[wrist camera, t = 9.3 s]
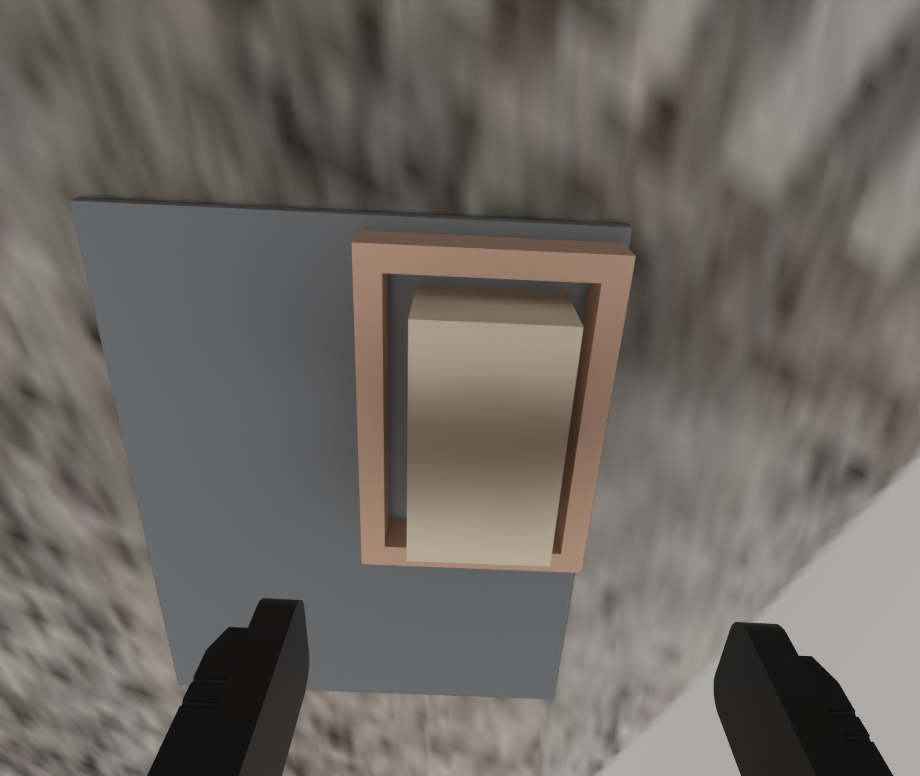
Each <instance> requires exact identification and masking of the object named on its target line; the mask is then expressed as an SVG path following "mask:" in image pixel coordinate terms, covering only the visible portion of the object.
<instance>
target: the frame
mask: <svg viewBox="0 0 920 776" xmlns="http://www.w3.org/2000/svg"><path fill="white" fill-rule="evenodd" d="M635 258H636V256H635V255H634V254H633V253H632V251H631V250H630V249H629V248H628V247H627V246H626V245H625V244H624V243H615V242H594V241H573V240H552V239H531V238H510V237H489V236H468V235H447V234H426V233H405V232H384V231H363V230H360V231H359V233H358V234H357V236H356V237H355V238H354V240H353V241H352V271H353V303H354V335H355V367H356V399H357V430H358V462H359V494H360V526H361V558H362V564H371V565H396V566H421V567H446V568H470V569H495V570H520V571H544V572H569V573H581V571H582V566H583V560H584V554H585V548H586V542H587V536H588V531H589V525H590V519H591V513H592V507H593V502H594V496H595V490H596V484H597V478H598V473H599V467H600V461H601V455H602V449H603V444H604V438H605V432H606V426H607V420H608V415H609V409H610V403H611V397H612V391H613V386H614V380H615V374H616V368H617V362H618V357H619V351H620V345H621V339H622V333H623V328H624V322H625V316H626V310H627V304H628V298H629V293H630V287H631V281H632V275H633V269H634V264H635ZM388 274H409V275H431V276H452V277H473V278H495V279H516V280H537V281H559V282H580V283H590V284H589V291H588V298H587V305H586V312H585V319H584V326H583V327H584V328H583V335H582V342H581V349H580V356H579V363H578V370H577V378H576V385H575V392H574V399H573V406H572V413H571V421H570V428H569V435H568V442H567V449H566V456H565V464H564V471H563V478H562V485H561V492H560V499H559V506H558V514H557V521H556V528H555V535H554V542H553V549H552V557H551V564H550V567H544V566H518V565H492V564H467V563H441V562H415V561H407V520H401V519H390V512H389V328H388Z"/></svg>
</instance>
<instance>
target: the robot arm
mask: <svg viewBox="0 0 920 776" xmlns="http://www.w3.org/2000/svg"><path fill="white" fill-rule="evenodd" d="M308 673H309V647H308V637H307V627H306V618H305V608H304V603H303V601H302V600H294V599H273V598H262V599H261V600H260V601H259V603H258V604H257V607H256V609H255V611H254V614H253V616H252V619H251V621H250V624H249V626H248V628H244V627H228V628H227V629H226V630H225V631H224V632H223V633H222V634H221V635H220V636H219V637H218V638H217V639H216V640H215V641H214V642H213V643H212V644H211V645H210V646H209V647H208V648H207V649H206V651H205V653H204V656H203V658H202V660H201V662H200V664H199V666H198V668H197V670H196V673H195V675H194V677H193V682H192V683H190V685H189V688H188V690H187V692H186V694H185V696H184V698H183V703H182V706H180V707H179V709H178V711H177V713H176V715H175V717H174V720H173V722H172V724H171V726H170V728H169V730H168V732H167V734H166V737H165V739H164V741H163V743H162V745H161V747H160V749H159V752H158V754H157V756H156V758H155V760H154V762H153V764H152V767H151V769H150V771H149V773H148V775H147V776H282V773H283V770H284V766H285V762H286V759H287V755H288V752H289V748H290V744H291V741H292V737H293V734H294V730H295V726H296V723H297V719H298V716H299V712H300V708H301V705H302V701H303V697H304V694H305V690H306V686H307V680H308ZM714 699H715V704H716V709H717V712H718V715H719V718H720V720H721V723H722V726H723V728H724V731H725V734H726V736H727V739H728V742H729V745H730V747H731V750H732V753H733V755H734V758H735V761H736V763H737V766H738V768H739V771H740V774H741V776H893V775H892V773H891V771H890V769H889V768H888V766H887V765H886V763H885V761H884V759H883V758H882V756H881V754H880V752H879V751H878V749H877V747H876V746H875V744H874V742H871V741H870V739H869V734H868V732H867V730H866V729H865V727H864V725H863V724H862V722H861V720H860V719H859V717H856V715H855V710H854V708H853V707H852V705H851V703H850V702H849V700H848V698H847V696H846V695H845V693H844V691H843V690H842V688H841V686H840V685H839V683H838V682H837V681H836V680H835V679H834V678H833V677H832V676H831V675H830V674H829V673H828V672H827V671H826V670H825V669H824V668H823V667H822V666H821V665H820V664H819V663H818V662H817V661H816V660H815V659H814V658H813V657H812V656H798V654H797V652H796V650H795V648H794V646H793V645H792V643H791V641H790V639H789V637H788V635H787V634H786V632H785V630H784V629H783V628H782V627H781V626H780V625H778V624H766V623H745V622H736V623H734V624H733V625H732V626H731V629H730V632H729V635H728V638H727V641H726V644H725V647H724V650H723V653H722V656H721V659H720V662H719V665H718V668H717V671H716V674H715V678H714Z"/></svg>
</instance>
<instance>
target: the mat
mask: <svg viewBox="0 0 920 776" xmlns="http://www.w3.org/2000/svg"><path fill="white" fill-rule="evenodd" d="M69 201H70V205H71V210H72V214H73V218H74V223H75V227H76V232H77V236H78V241H79V245H80V250H81V254H82V258H83V263H84V267H85V272H86V276H87V281H88V285H89V290H90V294H91V298H92V303H93V307H94V312H95V316H96V321H97V325H98V330H99V334H100V338H101V343H102V347H103V352H104V356H105V361H106V365H107V370H108V374H109V378H110V383H111V387H112V392H113V396H114V401H115V405H116V409H117V414H118V418H119V423H120V427H121V432H122V436H123V441H124V445H125V449H126V454H127V458H128V463H129V467H130V472H131V476H132V481H133V485H134V489H135V494H136V498H137V503H138V507H139V512H140V516H141V521H142V525H143V529H144V534H145V538H146V543H147V547H148V552H149V556H150V561H151V565H152V569H153V574H154V578H155V583H156V587H157V592H158V596H159V601H160V605H161V609H162V614H163V618H164V623H165V627H166V632H167V636H168V641H169V645H170V649H171V654H172V658H173V663H174V667H175V672H176V676H177V681H178V685H190V683H192V682H193V677H194V675H195V673H196V670H197V668H198V666H199V664H200V662H201V660H202V658H203V656H204V653H205V651H206V649H207V648H208V647H209V646H210V645H211V644H212V643H213V642H214V641H215V640H216V639H217V638H218V637H219V636H220V635H221V634H222V633H223V632H224V631H225V630H226V629H227V628H228V627H244V628H248V626H249V624H250V621H251V619H252V616H253V614H254V611H255V609H256V607H257V604H258V603H259V601H260V600H261V599H262V598H273V599H294V600H302V601H303V603H304V608H305V618H306V627H307V637H308V647H309V673H308V680H307V686H306V690H321V691H348V692H374V693H401V694H428V695H454V696H481V697H507V698H534V699H554V696H555V690H556V684H557V678H558V672H559V666H560V660H561V654H562V648H563V642H564V636H565V630H566V624H567V618H568V612H569V606H570V600H571V594H572V588H573V582H574V576H575V573H569V572H544V571H520V570H495V569H470V568H446V567H421V566H396V565H371V564H362V558H361V526H360V494H359V462H358V430H357V399H356V367H355V335H354V303H353V271H352V241H353V240H354V238H355V237H356V236H357V234H358V233H359V231H360V230H363V231H384V232H405V233H426V234H447V235H468V236H489V237H510V238H531V239H552V240H573V241H594V242H615V243H624V244H625V245H626V246H627V247H628V248H629V246H630V240H631V234H632V228H633V227H631V226H630V225H629V224H619V223H598V222H577V221H557V220H536V219H515V218H494V217H473V216H453V215H432V214H411V213H390V212H369V211H349V210H328V209H307V208H286V207H265V206H245V205H224V204H203V203H182V202H161V201H141V200H120V199H99V198H76V199H73V200H69ZM589 284H590V283H580V282H559V281H537V280H516V279H495V278H473V277H452V276H431V275H409V274H388V328H389V512H390V519H401V520H407V421H408V318H409V314H410V310H411V306H412V301H413V297H414V293H415V289H416V285H430V286H452V287H475V288H497V289H520V290H542V291H565V292H567V294H568V296H569V298H570V300H571V302H572V304H573V306H574V308H575V310H576V312H577V314H578V316H579V318H580V321H581V323H582V325H583V326H584V319H585V312H586V305H587V298H588V291H589Z"/></svg>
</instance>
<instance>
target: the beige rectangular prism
mask: <svg viewBox="0 0 920 776" xmlns="http://www.w3.org/2000/svg"><path fill="white" fill-rule="evenodd" d="M583 328H584V327H583V325H582V323H581V321H580V318H579V316H578V314H577V312H576V310H575V308H574V306H573V304H572V302H571V300H570V298H569V296H568V294H567V292H565V291H542V290H520V289H497V288H475V287H452V286H430V285H416V289H415V293H414V297H413V301H412V306H411V310H410V314H409V318H408V421H407V561H415V562H441V563H467V564H492V565H518V566H544V567H550V564H551V557H552V549H553V542H554V535H555V528H556V521H557V514H558V506H559V499H560V492H561V485H562V478H563V471H564V464H565V456H566V449H567V442H568V435H569V428H570V421H571V413H572V406H573V399H574V392H575V385H576V378H577V370H578V363H579V356H580V349H581V342H582V335H583Z"/></svg>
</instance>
